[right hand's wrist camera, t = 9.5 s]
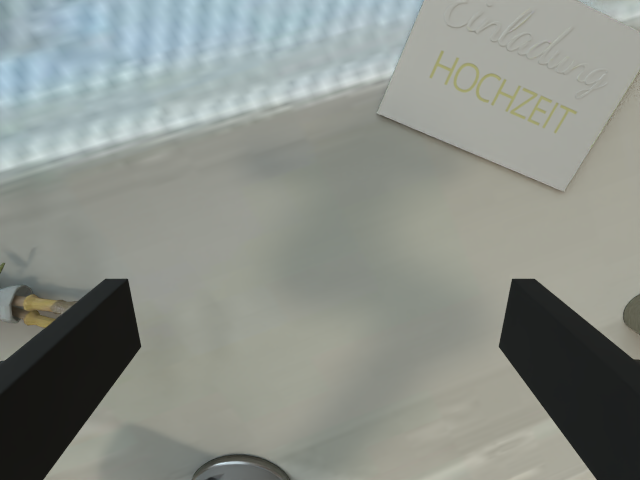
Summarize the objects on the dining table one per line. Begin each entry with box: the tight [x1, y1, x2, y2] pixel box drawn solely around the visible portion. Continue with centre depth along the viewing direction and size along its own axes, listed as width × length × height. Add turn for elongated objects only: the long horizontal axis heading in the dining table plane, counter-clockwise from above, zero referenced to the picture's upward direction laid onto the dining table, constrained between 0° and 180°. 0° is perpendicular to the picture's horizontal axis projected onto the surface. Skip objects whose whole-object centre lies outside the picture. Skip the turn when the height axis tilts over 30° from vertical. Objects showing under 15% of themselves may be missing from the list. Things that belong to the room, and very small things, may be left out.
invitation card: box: [377, 0, 640, 192], centre depth 35 cm, size 21×1×15 cm
